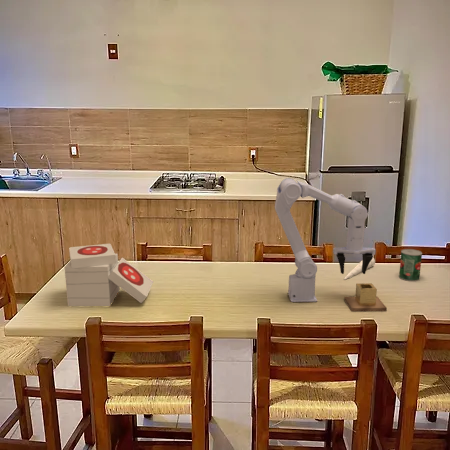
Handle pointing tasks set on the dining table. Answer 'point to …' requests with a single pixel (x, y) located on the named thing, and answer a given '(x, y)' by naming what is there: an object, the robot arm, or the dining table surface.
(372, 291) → the brass collar
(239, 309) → the dining table surface
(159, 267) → the dining table surface
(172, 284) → the dining table surface
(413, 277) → the canned tomato
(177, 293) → the dining table surface
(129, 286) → the pizza boxes
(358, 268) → the unicorn horn
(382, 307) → the post stand
